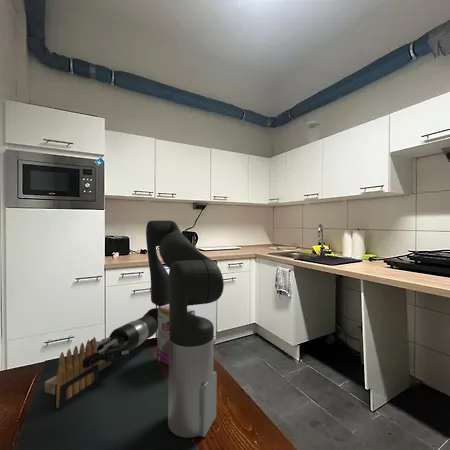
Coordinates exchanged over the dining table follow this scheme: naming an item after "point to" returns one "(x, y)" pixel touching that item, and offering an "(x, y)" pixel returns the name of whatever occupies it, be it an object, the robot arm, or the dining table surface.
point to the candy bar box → (164, 333)
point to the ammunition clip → (75, 375)
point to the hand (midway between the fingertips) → (80, 363)
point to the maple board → (53, 381)
